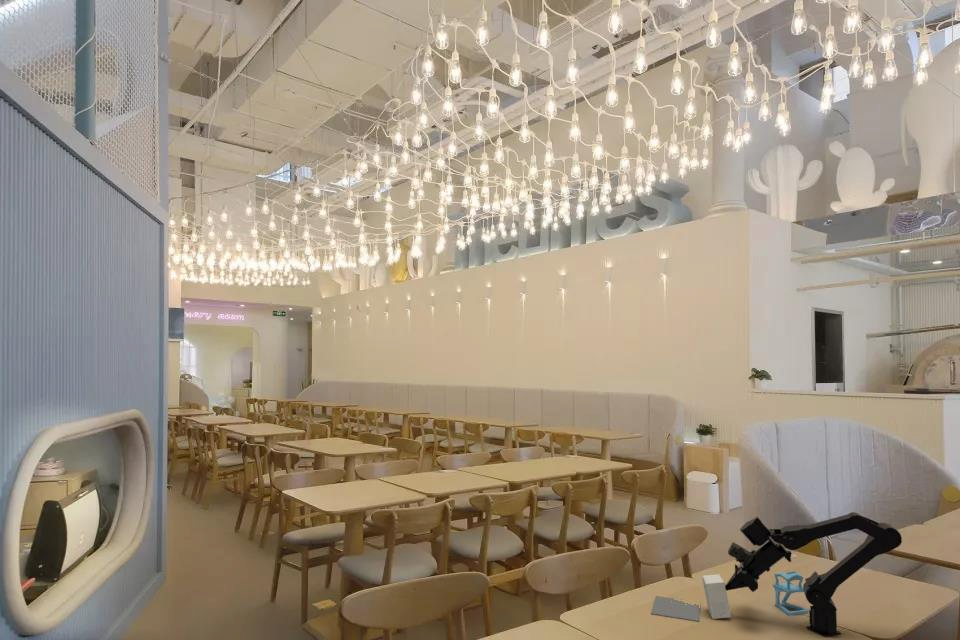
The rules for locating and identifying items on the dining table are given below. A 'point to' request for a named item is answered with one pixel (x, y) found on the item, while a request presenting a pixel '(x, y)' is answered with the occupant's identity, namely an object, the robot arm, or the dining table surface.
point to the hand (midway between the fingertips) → (725, 588)
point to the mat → (675, 609)
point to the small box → (716, 596)
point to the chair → (788, 592)
